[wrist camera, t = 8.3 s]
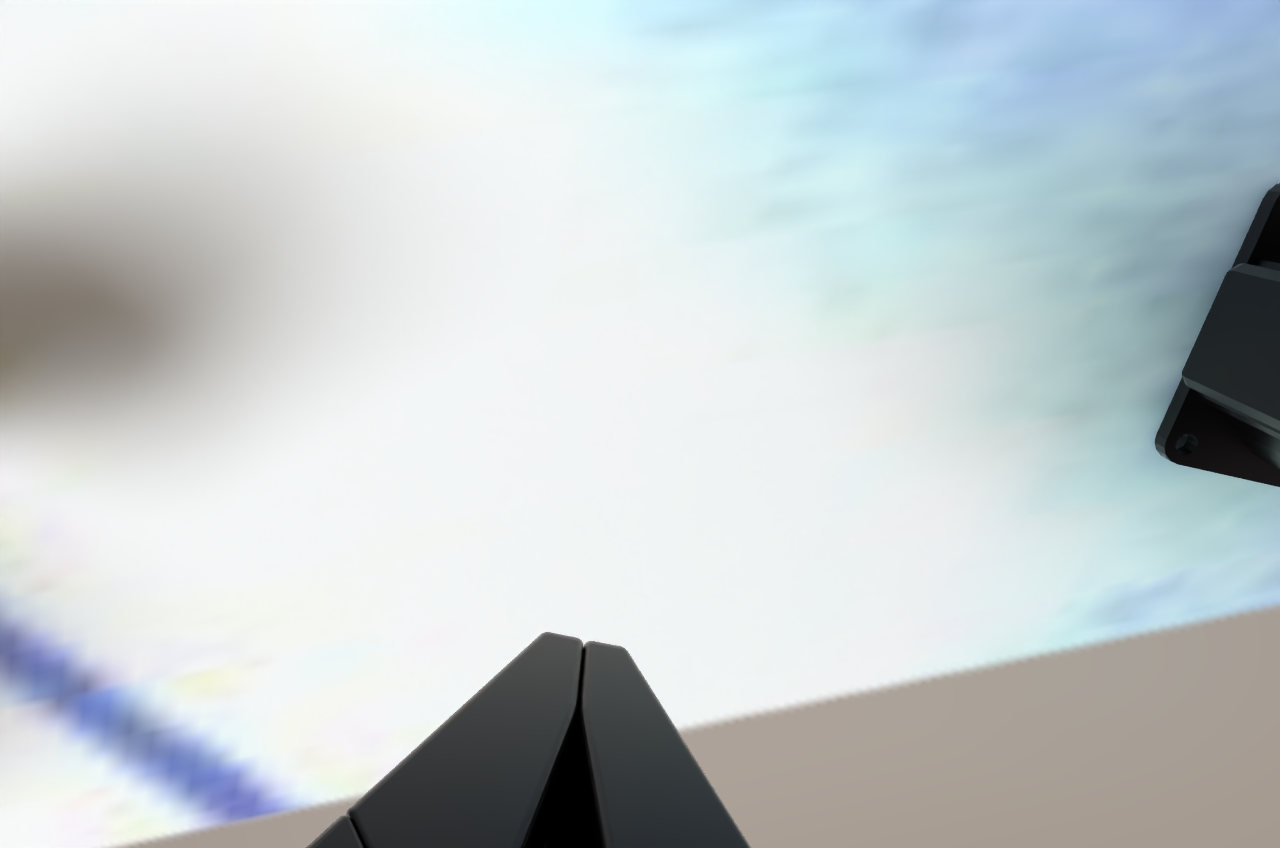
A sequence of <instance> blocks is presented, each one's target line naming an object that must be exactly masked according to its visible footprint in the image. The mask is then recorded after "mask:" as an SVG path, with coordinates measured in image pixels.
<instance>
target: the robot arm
mask: <svg viewBox="0 0 1280 848" xmlns="http://www.w3.org/2000/svg"><path fill="white" fill-rule="evenodd" d="M1182 376H1183V377H1182V379H1181V381H1180V383H1179V386H1178V388H1177V390H1176V392H1175V394H1174V397H1173V399H1172V401H1171V403H1170V406H1169V408H1168V410H1167V412H1166V414H1165V417H1164V419H1163V421H1162V423H1161V425H1160V428H1159V430H1158V432H1157V434H1156V439H1155V446H1156V450H1157V451H1158V452H1159V453H1160V455H1162V456H1163V457H1165V458H1167V459H1168V460H1170V461H1172V462H1174V463H1176V464H1179V465H1183V466H1188V467H1192V468H1197V469H1201V470H1206V471H1210V472H1215V473H1219V474H1224V475H1228V476H1233V477H1237V478H1242V479H1246V480H1251V481H1255V482H1260V483H1264V484H1269V485H1273V486H1278V487H1280V183H1279V184H1276V185H1275V186H1274V187H1273V188H1271V189H1270V190H1269V191H1268V192H1267V194H1266V195H1265V197H1264V198H1263V200H1262V202H1261V204H1260V206H1259V209H1258V211H1257V213H1256V215H1255V218H1254V220H1253V222H1252V224H1251V226H1250V229H1249V231H1248V233H1247V235H1246V237H1245V240H1244V242H1243V244H1242V246H1241V249H1240V251H1239V253H1238V255H1237V257H1236V260H1235V262H1234V264H1233V266H1232V268H1231V270H1229V271H1228V272H1227V274H1226V276H1225V278H1224V280H1223V282H1222V284H1221V287H1220V289H1219V291H1218V293H1217V296H1216V298H1215V300H1214V302H1213V304H1212V307H1211V309H1210V311H1209V313H1208V315H1207V318H1206V320H1205V322H1204V324H1203V327H1202V329H1201V331H1200V333H1199V335H1198V338H1197V340H1196V342H1195V344H1194V347H1193V349H1192V351H1191V353H1190V355H1189V358H1188V360H1187V362H1186V364H1185V366H1184V369H1183V371H1182ZM1185 434H1187V435H1188V437H1187V441H1186V443H1185V444H1184V445H1183V446H1181V447H1180V448H1178V449H1175V445H1176V442H1177V440H1178V439H1179V438H1180V437H1182V436H1183V435H1185ZM306 848H751V847H750V845H749V844H748V842H747V841H746V839H745V837H744V836H743V834H742V833H741V831H740V829H739V828H738V826H737V825H736V823H735V822H734V820H733V818H732V817H731V815H730V814H729V812H728V810H727V809H726V807H725V805H724V804H723V802H722V801H721V799H720V798H719V796H718V794H717V793H716V791H715V790H714V788H713V786H712V785H711V783H710V782H709V780H708V778H707V777H706V775H705V774H704V772H703V770H702V769H701V767H700V766H699V764H698V763H697V761H696V760H695V758H694V756H693V755H692V753H691V751H690V750H689V748H688V747H687V745H686V743H685V742H684V740H683V739H682V737H681V735H680V734H679V732H678V731H677V729H676V728H675V726H674V724H673V723H672V721H671V720H670V718H669V716H668V715H667V713H666V712H665V710H664V708H663V707H662V705H661V704H660V702H659V700H658V699H657V697H656V696H655V694H654V692H653V691H652V689H651V688H650V686H649V685H648V683H647V681H646V680H645V678H644V677H643V675H642V673H641V672H640V670H639V669H638V667H637V665H636V664H635V662H634V661H633V659H632V657H631V656H630V654H629V653H628V651H627V650H626V649H625V648H623V647H621V646H616V645H610V644H605V643H600V642H595V641H589V642H587V643H586V644H585V645H584V647H583V643H582V641H581V640H580V639H578V638H575V637H570V636H565V635H560V634H555V633H550V632H545V633H542V634H541V635H540V636H539V637H538V638H537V639H535V640H534V641H533V642H532V643H531V644H530V645H529V646H528V647H527V648H526V649H524V650H523V651H522V652H521V653H520V654H519V655H518V656H517V657H516V658H515V659H513V660H512V661H511V662H510V663H509V664H508V665H507V666H506V667H505V668H504V669H502V670H501V671H500V672H499V673H498V674H497V675H496V676H495V677H494V678H493V679H491V680H490V681H489V682H488V683H487V684H486V685H485V686H484V687H483V688H482V689H481V690H479V691H478V692H477V693H476V694H475V695H474V696H473V697H472V698H471V699H470V700H468V701H467V702H466V703H465V704H464V705H463V706H462V707H461V708H460V709H459V710H457V711H456V712H455V713H454V714H453V715H452V716H451V717H450V718H449V719H448V720H446V721H445V722H444V723H443V724H442V725H441V726H440V727H439V728H438V729H437V730H435V731H434V732H433V733H432V734H431V735H430V736H429V737H428V738H427V739H426V740H424V741H423V742H422V743H421V744H420V745H419V746H418V747H417V748H416V749H415V750H413V751H412V752H411V753H410V754H409V755H408V756H407V757H406V758H405V759H404V760H403V761H401V762H400V763H399V764H398V765H397V766H396V767H395V768H394V769H393V770H392V771H390V772H389V773H388V774H387V775H386V776H385V777H384V778H383V779H382V780H381V781H379V782H378V783H377V784H376V785H375V786H374V787H373V788H372V789H371V790H370V791H368V792H367V793H366V794H365V795H364V796H363V797H362V798H361V799H360V800H359V801H358V802H356V803H355V804H354V805H353V806H352V807H351V808H350V809H349V810H348V811H347V813H346V815H344V816H341V817H339V818H338V819H337V820H336V821H335V822H334V823H333V824H332V825H330V826H329V828H327V829H326V830H325V831H324V832H323V833H322V834H321V835H320V836H319V837H318V838H316V839H315V840H314V841H313V842H312V843H311V844H310V845H309V846H308V847H306Z"/></svg>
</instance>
